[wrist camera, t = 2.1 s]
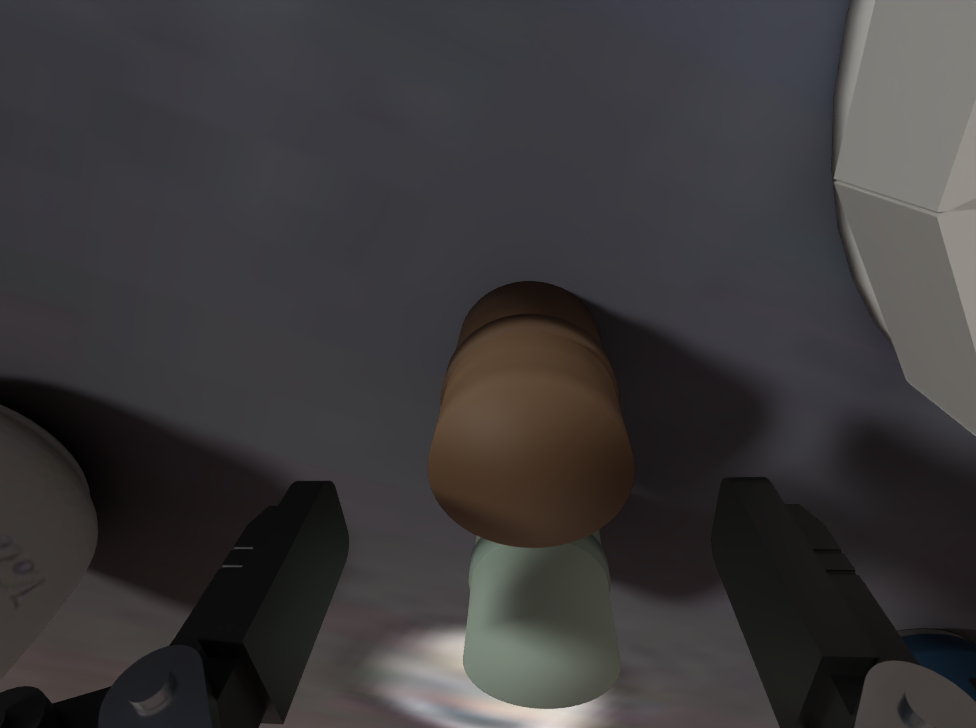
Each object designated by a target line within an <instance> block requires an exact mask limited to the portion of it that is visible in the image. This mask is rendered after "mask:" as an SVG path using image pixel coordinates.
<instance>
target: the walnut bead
mask: <svg viewBox="0 0 976 728" xmlns="http://www.w3.org/2000/svg"><path fill="white" fill-rule="evenodd" d="M428 478H429V482H430V486H431V489H432V491H433V494H434V496H435V498H436V500H437V501H438V503H439V504H440V506H441V507H442V509H443V510H444V511H445V512H446V513H447V514H448V516H450V517H451V518H452V519H453V520H454V521H455V522H456V523H457V524H459V525H460V526H462V527H463V528H464V529H466V530H468V531H469V532H471V533H473V534H475V535H477V536H479V537H481V538H484V539H486V540H489V541H492V542H495V543H498V544H503V545H507V546H513V547H521V548H545V547H553V546H559V545H563V544H567V543H571V542H574V541H577V540H580V539H582V538H584V537H587V536H589V535H591V534H593V533H594V532H596V531H598V530H599V529H601V528H602V527H604V526H605V525H606V524H607V523H609V522H610V521H611V520H612V519H613V518H614V517H615V516H616V515H617V514H618V513H619V512H620V510H621V509H622V508H623V506H624V505H625V503H626V501H627V500H628V498H629V496H630V493H631V490H632V487H633V484H634V478H635V462H634V457H633V452H632V449H631V445H630V442H629V438H628V435H627V431H626V428H625V424H624V421H623V417H622V414H621V410H620V396H619V390H618V385H617V382H616V378H615V375H614V372H613V368H612V366H611V363H610V360H609V358H608V356H607V355H606V353H605V351H604V350H603V347H602V344H601V340H600V337H599V333H598V330H597V327H596V324H595V321H594V319H593V317H592V315H591V313H590V312H589V310H588V309H587V308H586V306H585V305H584V304H583V303H582V302H581V301H580V300H579V299H578V298H577V297H575V296H574V295H573V294H571V293H570V292H568V291H566V290H564V289H563V288H560V287H558V286H555V285H552V284H548V283H544V282H536V281H523V282H515V283H511V284H507V285H504V286H501V287H499V288H497V289H495V290H493V291H491V292H489V293H488V294H486V295H485V296H484V297H482V298H481V299H480V300H479V301H478V302H477V303H476V304H475V305H474V306H473V307H472V309H471V310H470V311H469V313H468V315H467V316H466V318H465V320H464V323H463V325H462V329H461V332H460V336H459V340H458V344H457V348H456V351H455V353H454V354H453V356H452V358H451V360H450V363H449V365H448V368H447V372H446V375H445V379H444V383H443V387H442V391H441V410H440V414H439V418H438V422H437V426H436V430H435V434H434V438H433V441H432V445H431V449H430V453H429V458H428Z"/></svg>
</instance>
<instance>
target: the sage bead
mask: <svg viewBox="0 0 976 728" xmlns="http://www.w3.org/2000/svg"><path fill="white" fill-rule="evenodd" d="M469 588H470V600H469V610H468V619H467V628H466V637H465V647H464V656H463V665H464V668H465V671H466V673H467V675H468V677H469V678H470V680H471V681H472V682H473V683H474V684H475V685H476V686H477V687H478V688H479V689H481V690H482V691H483V692H485V693H487V694H488V695H490V696H492V697H494V698H496V699H498V700H501V701H504V702H506V703H510V704H513V705H518V706H522V707H529V708H540V709H555V708H565V707H571V706H575V705H580V704H583V703H586V702H589V701H591V700H593V699H596V698H597V697H599V696H601V695H603V694H604V693H605V692H607V691H608V690H609V689H610V688H611V687H612V686H613V685H614V684H615V682H616V681H617V679H618V677H619V674H620V670H621V661H620V655H619V649H618V643H617V637H616V631H615V624H614V618H613V612H612V606H611V600H610V588H611V580H610V574H609V568H608V562H607V557H606V553H605V551H604V549H603V547H602V544H601V538H600V532H599V530H598V531H596V532H594V533H593V534H591V535H589V536H587V537H584V538H582V539H580V540H577V541H574V542H571V543H567V544H563V545H559V546H553V547H545V548H521V547H513V546H507V545H503V544H498V543H495V542H492V541H489V540H486V539H484V538H481V537H479V536H476V545H475V547H474V549H473V552H472V556H471V564H470V573H469Z"/></svg>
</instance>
